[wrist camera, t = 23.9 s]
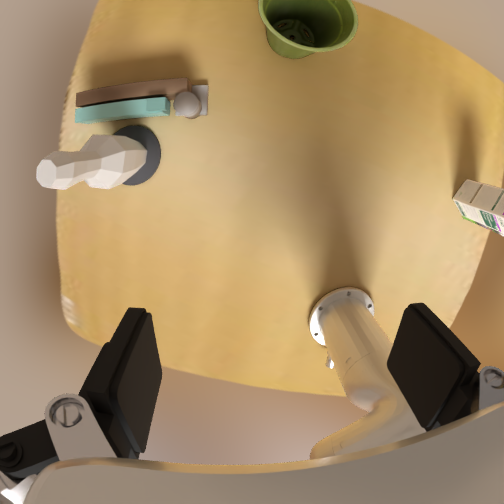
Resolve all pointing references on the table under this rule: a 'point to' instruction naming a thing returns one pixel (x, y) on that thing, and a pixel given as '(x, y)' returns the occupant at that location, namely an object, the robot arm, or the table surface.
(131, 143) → the white bottle
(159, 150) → the dark grey disc
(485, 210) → the syrup box
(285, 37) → the plant pot
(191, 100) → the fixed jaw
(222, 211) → the table surface
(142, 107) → the bar
